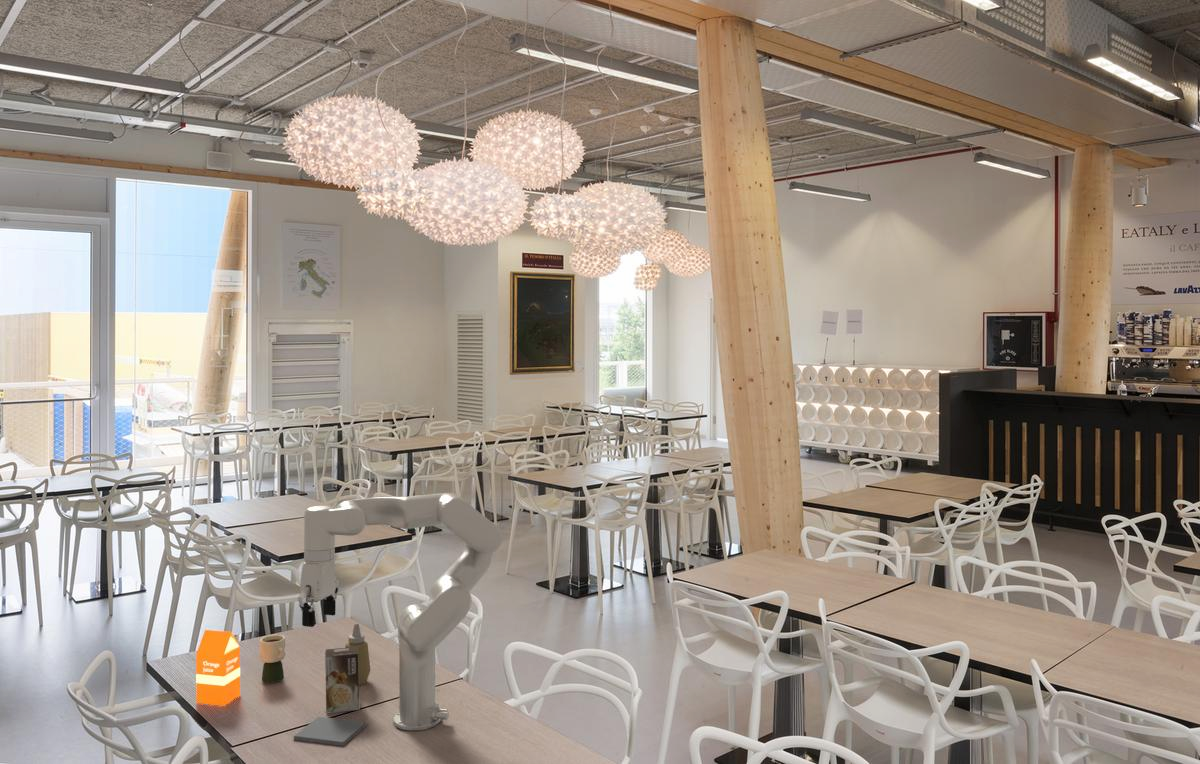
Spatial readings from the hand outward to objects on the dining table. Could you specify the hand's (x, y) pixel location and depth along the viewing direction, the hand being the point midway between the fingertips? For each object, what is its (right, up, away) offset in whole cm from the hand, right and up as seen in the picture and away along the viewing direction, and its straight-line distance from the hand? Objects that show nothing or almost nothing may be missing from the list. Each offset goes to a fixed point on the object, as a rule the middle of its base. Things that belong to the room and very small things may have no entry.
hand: (319, 620), depth 225 cm
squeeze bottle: (-1, -29, +37) cm, 47 cm away
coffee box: (0, -30, +20) cm, 36 cm away
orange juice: (-36, -30, +24) cm, 53 cm away
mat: (+2, -31, +4) cm, 31 cm away
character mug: (-26, -29, +38) cm, 54 cm away
